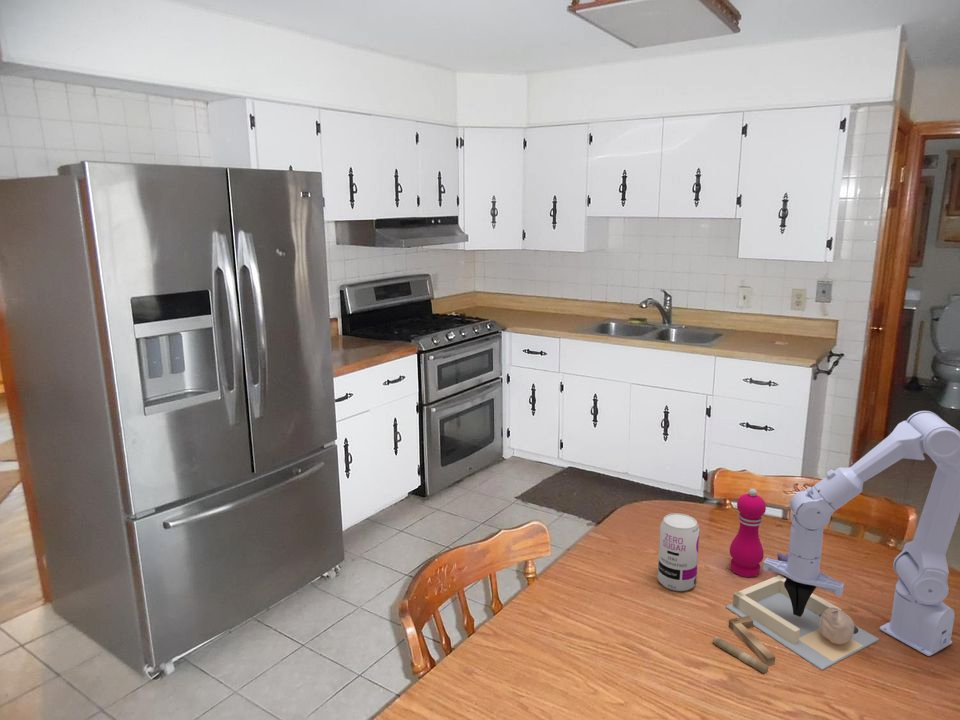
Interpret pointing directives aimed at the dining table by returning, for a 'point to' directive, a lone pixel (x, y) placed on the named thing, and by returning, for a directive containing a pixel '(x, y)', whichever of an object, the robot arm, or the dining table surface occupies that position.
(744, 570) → the pepper mill
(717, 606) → the dining table surface
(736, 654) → the straight stick
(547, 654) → the dining table surface
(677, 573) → the supplement can
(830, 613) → the garlic bulb
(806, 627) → the cubby board
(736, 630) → the crook tool
